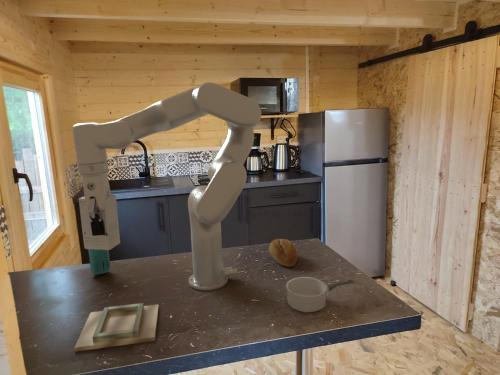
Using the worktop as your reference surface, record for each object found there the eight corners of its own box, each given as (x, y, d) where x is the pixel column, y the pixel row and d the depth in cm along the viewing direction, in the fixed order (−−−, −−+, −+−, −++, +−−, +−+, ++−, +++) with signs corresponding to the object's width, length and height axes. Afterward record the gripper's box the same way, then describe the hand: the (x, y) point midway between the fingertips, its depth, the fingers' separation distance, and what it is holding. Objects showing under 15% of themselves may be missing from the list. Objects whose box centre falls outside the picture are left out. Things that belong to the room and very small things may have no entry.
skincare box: (84, 249, 97) (75, 198, 93) (97, 241, 102) (89, 193, 99) (111, 250, 95) (103, 199, 92) (122, 242, 101) (115, 193, 97)
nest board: (158, 307, 97) (158, 299, 97) (154, 340, 83) (153, 331, 82) (91, 315, 94) (90, 307, 93) (74, 351, 80) (73, 342, 79)
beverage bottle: (104, 279, 115) (97, 222, 111) (86, 277, 116) (79, 221, 112) (115, 270, 121) (109, 216, 117) (98, 269, 123) (92, 215, 119)
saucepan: (362, 308, 95) (363, 289, 94) (294, 318, 91) (294, 299, 90) (342, 288, 106) (343, 271, 105) (280, 296, 102) (280, 279, 101)
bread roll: (277, 271, 119) (277, 249, 117) (264, 255, 133) (263, 235, 131) (303, 267, 121) (303, 246, 119) (287, 251, 135) (287, 232, 134)
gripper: (100, 173, 86) (109, 239, 90) (114, 163, 103) (121, 220, 107) (68, 175, 85) (79, 242, 88) (87, 165, 101) (95, 222, 105)
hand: (102, 229), depth 97 cm, fingers closed on skincare box, 7 cm apart
